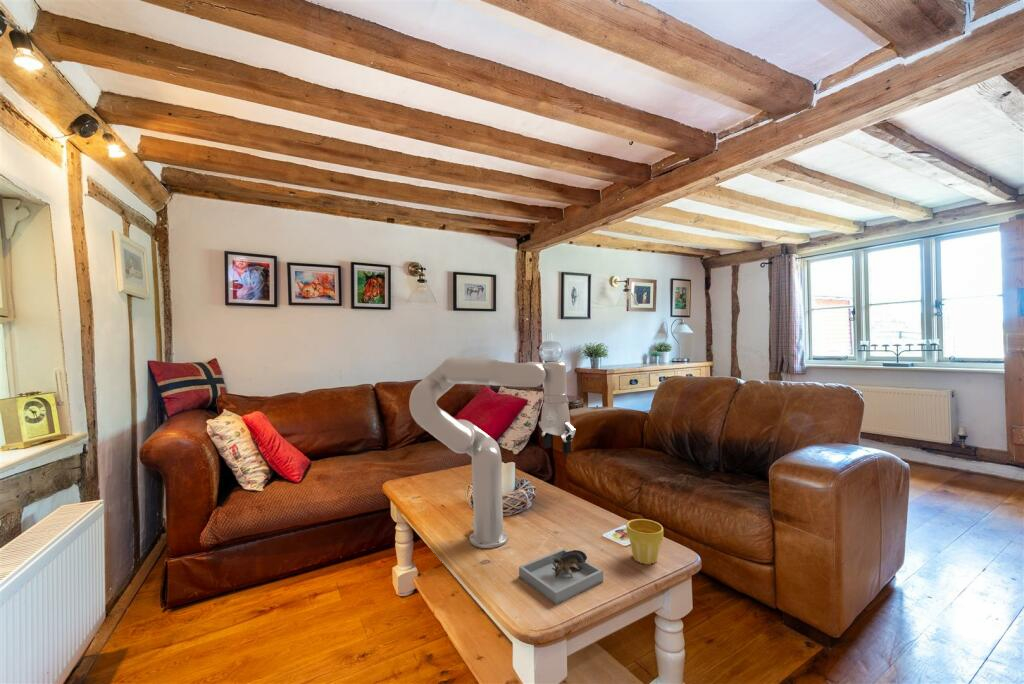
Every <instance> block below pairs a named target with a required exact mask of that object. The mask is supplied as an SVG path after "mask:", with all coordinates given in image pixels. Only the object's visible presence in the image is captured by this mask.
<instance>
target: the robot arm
mask: <svg viewBox="0 0 1024 684" xmlns="http://www.w3.org/2000/svg"><path fill="white" fill-rule="evenodd" d="M542 384H543V399H544V400H543V403H542V407H541V417H540V418H541V419H540V420H539V421H538V425H539V431H540V432H541V437H542V446H543V449H550V448H552V447H553V446H552V435H553V436H558V437H559V436H560V437H561V439H562V443H561V444H562V455H569V454H572V441H573V439H574V438H575V433H576V432H577V431H576V428H574V426H573V425H572V424H571V415H570V410H569V409H570V408H569V404H568V389H567V387H568V386H567V384H568V383H567V365H566V363H565V362H563V361H547V362H538V361H526V362H507V361H500V360H497V359H494V358H476V357H475V358H472V357H471V358H470V357H469V358H467V357H458V356H450V357H448V358H445V360H443V362H442V363H441V364H439V366H438V367H437V368H435V369H434V370H433V371H431V373H430V374H428V375H427V376H426V377H424V378H423V379H422V380H421V381H419V382H417V383H416V385H415V386H414V387H413V388H412V390H411V392H410V396H409V401H408V402H409V403H408V405H409V411H410V414H411V417H412V419H413V420H414V422H415V423H416V424H417V425H419V427H421V428H422V429H423V430H425V431H426V432H428V433H429V434H430V435H431V436H433V437H434V438H435V439H437V440H438V441H440V442H441V443H442V444H443V445H445V446H446V447H447V448H448V449H450V450H451V451H452V452H454V453H456V454H467V455H469V456H470V457H471V476H472V499H473V521H472V522H471V523H470V525H471V527H473V532H472V533H471V534H470V535H469V543H470V544H471V545H472V546H474V547H477V548H480V549H494V548H498V547H501V546H503V545H504V544H506V543H507V541H508V540H509V534H508V532H507V531H506V530H504V515H503V483H502V482H503V481H502V480H503V479H502V478H503V477H502V476H503V475H502V473H503V472H502V471H503V469H502V468H503V463H502V462H503V461H502V459H503V458H502V454H501V449H500V446H499V444H498V442H497V441H496V440H495V439H494V438H493V437H492V436H490V435H488V433H486V432H485V431H483V430H482V429H481V428H479V427H478V426H477V425H476V424H473V423H472V422H471V421H469V420H467V419H463V418H462V419H461V418H460V419H456V418H455V417H454V416H452V415H451V414H449V413H448V412H447V411H445V410H443V409H442V408H441V407H439V405H438V404H437V402H438V400H439V399H440V398H441V397H442V396H443V395H444V394H446V393H447V392H448V391H449V390H451V388H453V387H454V386H455V385H480V386H481V385H483V386H494V387H495V386H497V387H499V386H503V387H516V388H517V387H519V388H520V387H521V388H536V387H540V386H541V385H542Z"/></svg>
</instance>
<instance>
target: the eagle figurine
mask: <svg viewBox="0 0 1024 684" xmlns="http://www.w3.org/2000/svg"><path fill="white" fill-rule="evenodd" d="M568 551H569V550H568ZM587 559H588V556H587V554H586V553H585V552H583V550H582V551H581V550H580V549H579V550H578V549H573V550H570V551H569V552H566V553H564V554H563V555H562V557H561V558H560V559H557V558H556V557H555V556H552V557H550V561H551V562H552V564H553V565H554V566H555V569H554V568H552V569H553V570H555V572H556V575H555V577H557V576H558V575H559V573H560V571H561V570H564V571H566V572H567V573H569V574H570V575H571V577H572V578H573V573H572V572H571V570H570V568H569V567H573V568H577V569H579V570H581V568H580V567H579V566H576V565H575V564H578V563H584V562H585V561H587ZM554 563H555V564H554ZM557 563H558V564H557ZM556 564H557V566H556Z"/></svg>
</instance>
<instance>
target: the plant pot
mask: <svg viewBox="0 0 1024 684" xmlns="http://www.w3.org/2000/svg"><path fill="white" fill-rule="evenodd" d="M626 536H627V538H628V539H629V543H630V547H631V553H632V557H633V559H634V560H635V561H636V562H637V561H638V562H637V563H639V562H640V563H639V564H642V563H644V564H643V565H652V564H651V563H653V564H655V563H657V561H658V557H659V552H660V548H661V544H662V542H663V541H664V527H663V525H662V524H661V523H659V522H657V521H654V520H651V519H645V518H637V519H636V518H635V519H630V520H628V522H627V523H626ZM654 562H655V563H654Z"/></svg>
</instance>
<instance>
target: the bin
mask: <svg viewBox="0 0 1024 684" xmlns="http://www.w3.org/2000/svg"><path fill="white" fill-rule="evenodd" d="M566 552H569V550H567V549H565V548H562V549H559V550H557V551H554V552H552V553H549V554H546V555H545V556H542V557H539V558H537V559H535V560H533V561H529V562H527V563H524V564H522V565H520V566H518V577H520V578H519V579H520V580H522V581H524V582H525V583H526V584H528V586H530V587H531V588H533V589H534V590H536V591H537V592H538V593H540V594H541V595H542V596H543V597H544V598H547V600H549V601H550V602H551V603H553V604H554V605H556V606H559V605H560V604H562V603H563V602H565V601H567V600H570V599H571V598H574V597H576V596H578V595H580V594H582V593H584V592H586V591H588V590H590V589H592V588H594V587H596V586H598V585H600V584H602V583H604V570H602V569H601V568H599V567H597V566H595V565H594V564H592V563H590V562H588V561H587V560H585V562H584V563H578V564H575V565H576V566H579V567H580V568H581V570H579V569H577V568H573V567H569V568H570V570H571V572H572V573H573V578H572V577H571V575H570V574H569V573H567V572H566V571H564V570H561V571H560V573H559V575H558V576H557V577H555V575H556V572H555V570H553V569H552V568H554V569H555V566H554V565H553V564H552V562H551V561H550V557H552V556H555V557H556V558H557V559H560V558H561V557H562V555H563V554H564V553H566ZM554 564H555V563H554ZM557 564H558V563H557ZM557 564H556V566H557Z"/></svg>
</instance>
